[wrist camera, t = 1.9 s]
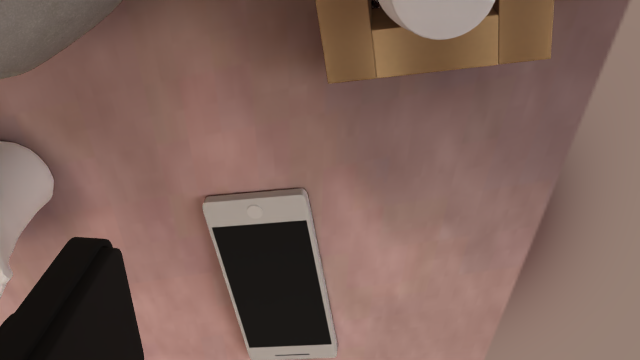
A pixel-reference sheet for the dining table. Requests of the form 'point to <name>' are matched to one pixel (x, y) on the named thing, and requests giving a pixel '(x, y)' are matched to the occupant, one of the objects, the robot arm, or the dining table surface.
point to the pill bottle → (437, 16)
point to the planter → (44, 29)
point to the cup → (19, 197)
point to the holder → (428, 40)
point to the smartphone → (273, 273)
